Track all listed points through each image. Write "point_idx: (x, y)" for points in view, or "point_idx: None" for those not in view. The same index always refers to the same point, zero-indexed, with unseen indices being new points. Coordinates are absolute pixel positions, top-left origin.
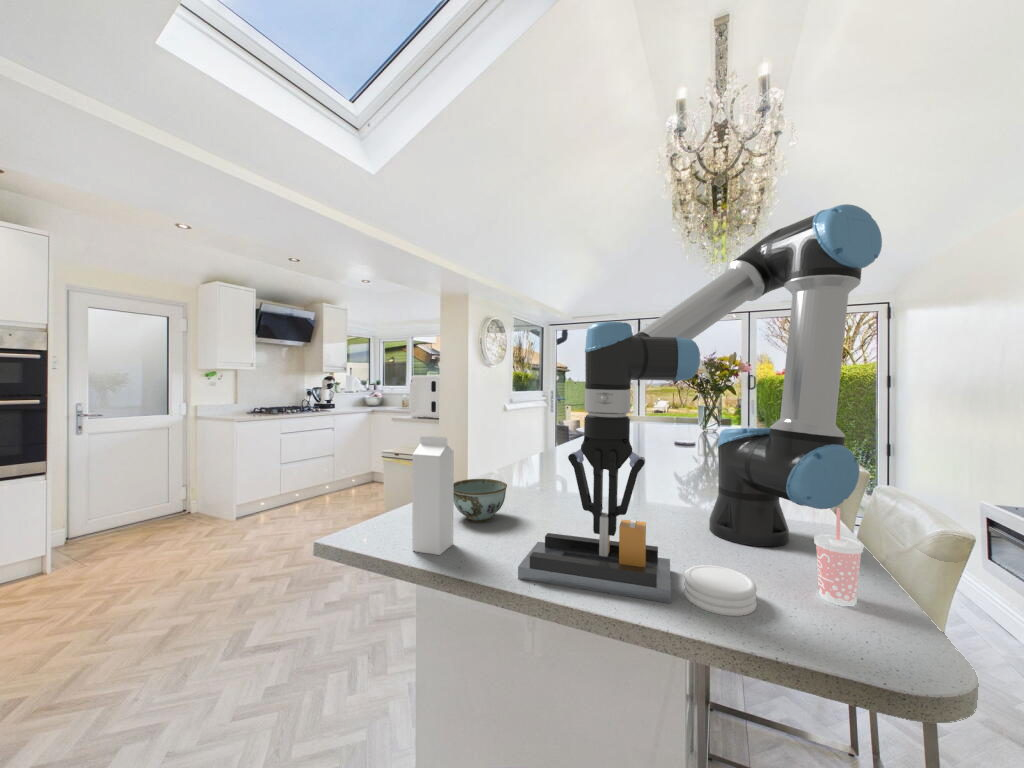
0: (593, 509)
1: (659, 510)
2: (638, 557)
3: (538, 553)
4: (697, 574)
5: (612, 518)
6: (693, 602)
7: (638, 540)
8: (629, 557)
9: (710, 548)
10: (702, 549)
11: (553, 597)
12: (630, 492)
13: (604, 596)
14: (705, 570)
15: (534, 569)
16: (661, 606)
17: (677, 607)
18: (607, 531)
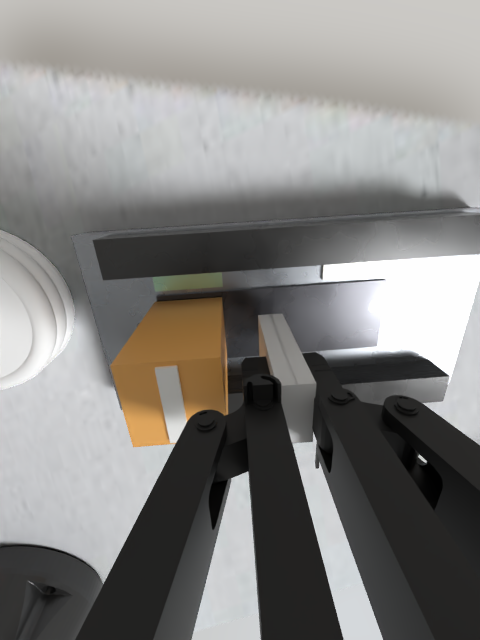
0: (361, 405)
1: (207, 618)
2: (162, 315)
3: (467, 247)
4: (13, 323)
5: (254, 375)
6: (34, 248)
7: (150, 340)
8: (190, 312)
9: (80, 511)
10: (93, 502)
11: (367, 138)
12: (134, 552)
13: (242, 202)
14: (3, 355)
15: (449, 211)
16: (103, 208)
17: (68, 220)
18: (269, 352)
